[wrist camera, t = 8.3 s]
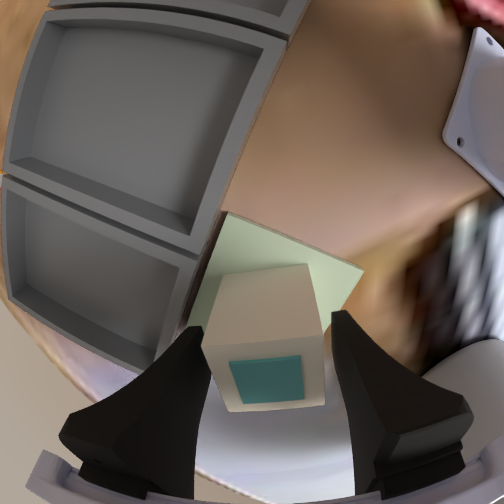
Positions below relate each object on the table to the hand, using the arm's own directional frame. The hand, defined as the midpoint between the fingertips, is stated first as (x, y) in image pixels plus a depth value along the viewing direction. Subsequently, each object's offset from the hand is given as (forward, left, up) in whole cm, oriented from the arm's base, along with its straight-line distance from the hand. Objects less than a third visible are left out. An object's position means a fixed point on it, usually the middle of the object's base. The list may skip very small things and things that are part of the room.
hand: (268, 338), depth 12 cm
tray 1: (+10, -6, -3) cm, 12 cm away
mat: (0, 0, -3) cm, 3 cm away
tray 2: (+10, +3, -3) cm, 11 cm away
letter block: (0, 0, -3) cm, 3 cm away
